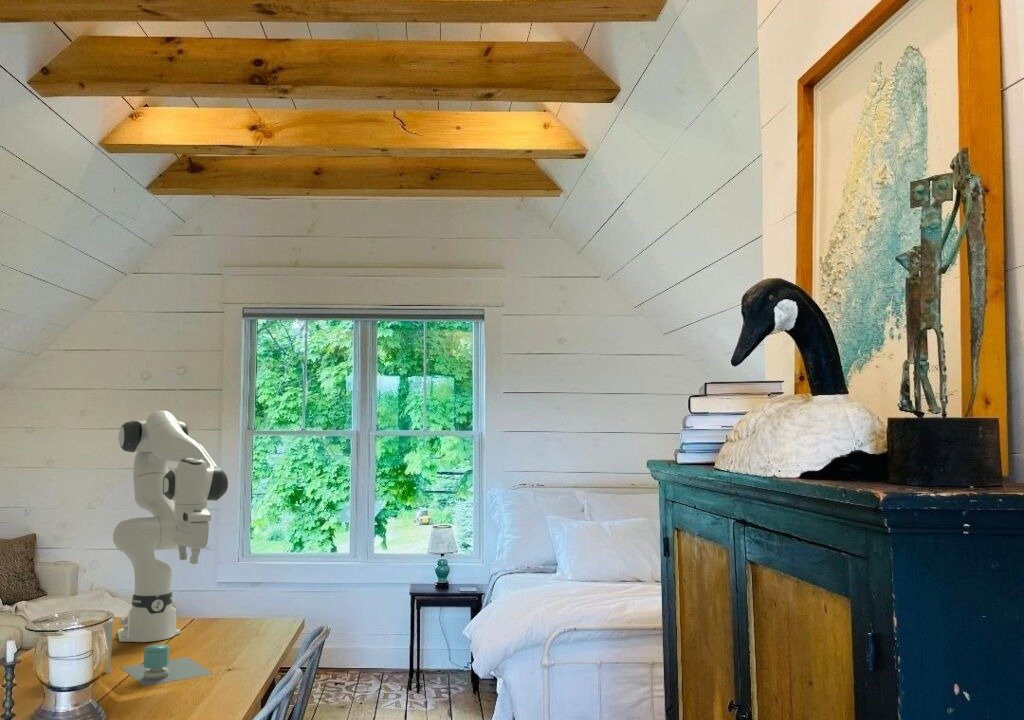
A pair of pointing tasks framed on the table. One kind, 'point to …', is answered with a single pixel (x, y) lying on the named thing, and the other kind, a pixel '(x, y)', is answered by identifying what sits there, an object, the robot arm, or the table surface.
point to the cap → (156, 656)
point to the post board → (173, 672)
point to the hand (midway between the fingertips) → (188, 561)
